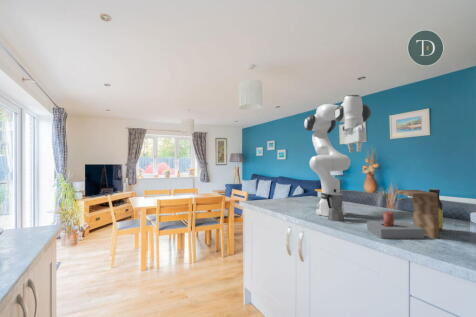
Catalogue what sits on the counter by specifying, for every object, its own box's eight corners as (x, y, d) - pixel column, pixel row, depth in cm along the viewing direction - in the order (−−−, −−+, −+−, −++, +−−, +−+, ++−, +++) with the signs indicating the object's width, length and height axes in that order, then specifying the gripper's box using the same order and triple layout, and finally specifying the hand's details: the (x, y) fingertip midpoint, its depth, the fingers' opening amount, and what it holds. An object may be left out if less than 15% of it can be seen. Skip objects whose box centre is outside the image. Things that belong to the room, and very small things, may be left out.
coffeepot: (334, 216, 152) (333, 187, 153) (349, 218, 145) (347, 188, 145) (320, 220, 142) (319, 189, 143) (335, 223, 135) (334, 191, 136)
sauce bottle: (423, 229, 119) (421, 188, 120) (431, 227, 122) (429, 187, 122) (438, 232, 113) (436, 190, 114) (446, 230, 115) (444, 189, 116)
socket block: (367, 229, 121) (366, 221, 121) (405, 229, 119) (405, 221, 120) (381, 238, 107) (380, 229, 107) (424, 238, 106) (424, 229, 106)
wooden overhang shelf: (396, 229, 120) (395, 190, 120) (418, 229, 119) (416, 189, 119) (414, 238, 106) (412, 193, 106) (439, 238, 105) (437, 193, 105)
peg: (391, 232, 115) (390, 211, 116) (396, 235, 111) (395, 213, 112) (382, 232, 116) (381, 211, 116) (386, 235, 112) (386, 213, 112)
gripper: (369, 121, 116) (370, 150, 115) (352, 128, 136) (353, 152, 136) (355, 122, 116) (356, 151, 116) (341, 128, 137) (342, 153, 136)
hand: (354, 152), depth 126 cm, fingers open, 8 cm apart
